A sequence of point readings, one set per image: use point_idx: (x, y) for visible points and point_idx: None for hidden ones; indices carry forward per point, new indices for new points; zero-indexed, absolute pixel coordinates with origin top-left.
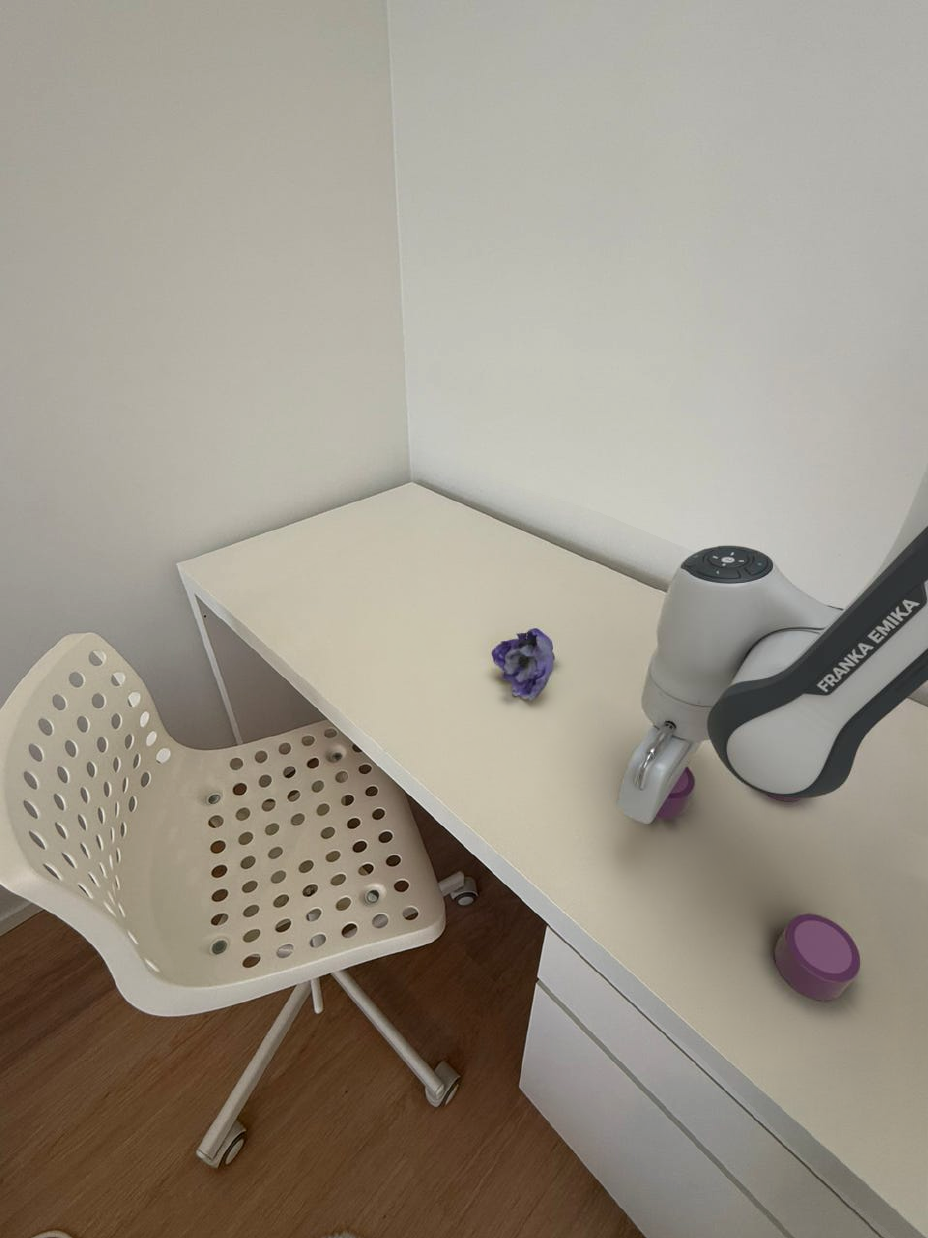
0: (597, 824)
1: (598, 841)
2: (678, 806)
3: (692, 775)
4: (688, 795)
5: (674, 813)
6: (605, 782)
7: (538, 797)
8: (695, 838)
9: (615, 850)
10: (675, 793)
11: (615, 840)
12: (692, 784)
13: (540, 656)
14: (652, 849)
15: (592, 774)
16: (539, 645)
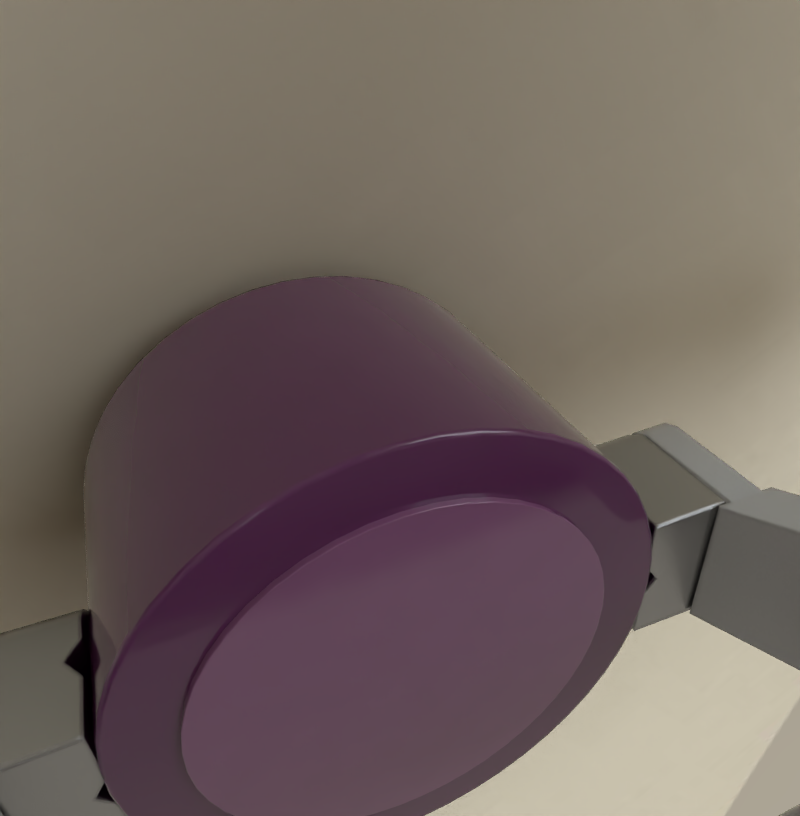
0: None
1: (736, 447)
2: (498, 368)
3: (178, 588)
4: (475, 417)
5: (468, 332)
6: None
7: (641, 694)
8: (443, 53)
9: (753, 370)
10: (562, 509)
11: (703, 408)
12: (319, 499)
13: None
14: (677, 243)
15: None
16: None
